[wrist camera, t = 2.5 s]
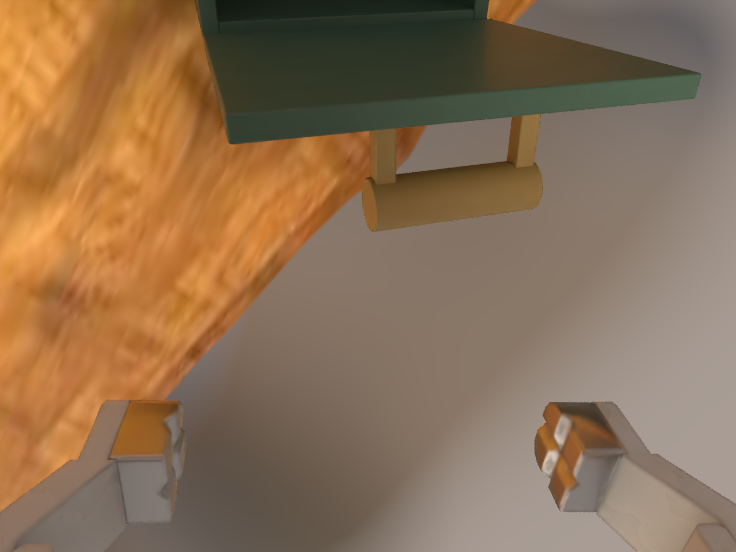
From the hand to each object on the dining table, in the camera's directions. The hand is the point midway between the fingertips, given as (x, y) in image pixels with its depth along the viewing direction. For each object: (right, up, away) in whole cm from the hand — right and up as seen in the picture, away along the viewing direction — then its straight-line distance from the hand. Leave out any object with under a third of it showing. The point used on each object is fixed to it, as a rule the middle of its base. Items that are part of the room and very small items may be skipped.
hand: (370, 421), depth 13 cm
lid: (+1, +12, +9) cm, 15 cm away
